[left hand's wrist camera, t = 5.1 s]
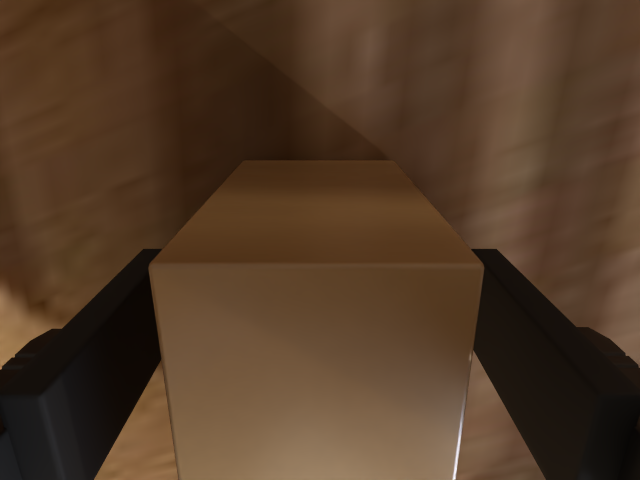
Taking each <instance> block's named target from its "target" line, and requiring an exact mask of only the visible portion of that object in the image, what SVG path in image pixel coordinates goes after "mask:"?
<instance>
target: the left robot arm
mask: <svg viewBox="0 0 640 480" xmlns="http://www.w3.org/2000/svg"><path fill="white" fill-rule="evenodd" d="M161 250H162V249H143V250H142V251H141V252H140V253H139V254H138V255H137V256H136V257H135V258H134V259H133V260H132V261H131V262H130V263H129V264H128V265H127V266H126V267H125V268H124V269H123V270H122V271H121V272H120V273H119V274H117V275H116V276H115V277H114V278H113V279H112V280H111V281H110V282H109V283H108V284H107V285H106V286H105V287H104V288H103V289H102V290H101V291H100V292H99V293H98V294H97V295H96V296H95V297H94V298H93V299H92V300H91V301H90V302H89V303H88V304H87V305H86V306H85V307H84V308H83V309H82V310H81V311H80V312H79V313H78V314H77V315H76V316H75V317H74V318H73V319H72V320H71V321H70V322H69V323H67V324H66V325H65V326H64V327H63V328H62V329H51V330H49V331H47V332H45V333H44V334H42V335H40V336H38V337H36V338H35V339H33V340H31V341H30V342H29V343H27V344H26V345H25V346H24V347H23V348H22V349H21V350H20V351H19V352H18V353H16V354H15V358H11V359H10V360H9V361H8V362H7V363H6V364H4V365H3V366H2V370H0V480H94V478H95V477H96V475H97V473H98V471H99V470H100V468H101V466H102V464H103V462H104V461H105V459H106V457H107V455H108V453H109V452H110V450H111V448H112V446H113V445H114V443H115V441H116V439H117V437H118V436H119V434H120V432H121V430H122V428H123V427H124V425H125V423H126V421H127V420H128V418H129V416H130V414H131V412H132V411H133V409H134V407H135V405H136V403H137V402H138V400H139V398H140V396H141V395H142V393H143V391H144V389H145V387H146V386H147V384H148V382H149V380H150V379H151V377H152V375H153V373H154V371H155V370H156V368H157V366H158V364H159V362H160V361H161V352H160V345H159V338H158V331H157V324H156V317H155V310H154V303H153V296H152V289H151V282H150V275H149V264H150V263H151V261H152V260H153V259H154V258H155V257H156V256H157V255H158V254H159V253H160V252H161ZM471 250H472V251H473V252H474V254H475V255H476V256H477V257H478V258H479V259H480V260H481V262H482V263H483V265H484V274H483V282H482V289H481V296H480V304H479V311H478V318H477V326H476V333H475V340H474V348H473V350H474V352H475V354H476V355H477V357H478V359H479V361H480V362H481V364H482V366H483V368H484V370H485V371H486V373H487V375H488V377H489V378H490V380H491V382H492V384H493V386H494V387H495V389H496V391H497V393H498V395H499V396H500V398H501V400H502V402H503V403H504V405H505V407H506V409H507V411H508V412H509V414H510V416H511V418H512V420H513V421H514V423H515V425H516V427H517V428H518V430H519V432H520V434H521V436H522V437H523V439H524V441H525V443H526V445H527V446H528V448H529V450H530V452H531V453H532V455H533V457H534V459H535V461H536V462H537V464H538V466H539V468H540V469H541V471H542V473H543V475H544V477H545V478H546V480H640V368H639V367H638V364H637V363H636V362H635V361H633V360H632V359H631V358H630V357H629V356H626V355H625V352H624V351H622V350H621V349H620V348H619V347H618V346H617V345H616V344H615V343H614V342H613V341H611V340H610V339H609V338H607V337H605V336H603V335H601V334H600V333H598V332H596V331H594V330H592V329H590V328H589V327H576V326H575V325H574V324H573V323H572V322H570V321H569V320H568V319H567V318H566V317H565V316H564V315H563V314H562V313H561V312H560V311H559V310H558V309H557V308H556V307H555V306H554V305H553V304H552V303H551V302H550V301H549V300H548V299H547V298H546V297H545V296H544V295H543V294H542V293H541V292H540V291H539V290H538V289H537V288H536V287H535V286H534V285H533V284H532V283H531V282H530V281H529V280H528V279H527V278H526V277H525V276H524V275H523V274H521V273H520V272H519V271H518V270H517V269H516V268H515V267H514V266H513V265H512V264H511V263H510V262H509V261H508V260H507V259H506V258H505V257H504V256H503V255H502V254H501V253H500V252H499V251H498V250H497V249H471Z"/></svg>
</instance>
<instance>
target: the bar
mask: <svg viewBox="0 0 640 480" xmlns="http://www.w3.org/2000/svg"><path fill="white" fill-rule="evenodd" d="M483 274H484V265H483V263H482V262H481V260H480V259H479V258H478V257H477V256H476V255H475V254H474V252H473V251H472V250H471V249H470V248H469V247H468V245H467V244H466V243H465V242H464V241H463V240H462V239H461V237H460V236H459V235H458V234H457V233H456V232H455V231H454V229H453V228H452V227H451V226H450V225H449V224H448V223H447V221H446V220H445V219H444V218H443V217H442V216H441V214H440V213H439V212H438V211H437V210H436V209H435V208H434V206H433V205H432V204H431V203H430V202H429V201H428V200H427V198H426V197H425V196H424V195H423V194H422V193H421V191H420V190H419V189H418V188H417V187H416V186H415V185H414V183H413V182H412V181H411V180H410V179H409V178H408V177H407V175H406V174H405V173H404V172H403V171H402V170H401V168H400V167H399V166H398V165H397V164H396V163H395V162H394V161H393V160H244V161H242V162H241V164H240V165H239V166H238V167H237V168H236V169H235V170H234V171H233V172H232V173H231V175H230V176H229V177H228V178H227V179H226V180H225V181H224V182H223V183H222V184H221V186H220V187H219V188H218V189H217V190H216V191H215V192H214V193H213V194H212V195H211V197H210V198H209V199H208V200H207V201H206V202H205V203H204V204H203V205H202V206H201V208H200V209H199V210H198V211H197V212H196V213H195V214H194V215H193V216H192V217H191V219H190V220H189V221H188V222H187V223H186V224H185V225H184V226H183V227H182V228H181V230H180V231H179V232H178V233H177V234H176V235H175V236H174V237H173V238H172V239H171V241H170V242H169V243H168V244H167V245H166V246H165V247H164V248H163V249H162V250H161V252H160V253H159V254H158V255H157V256H156V257H155V258H154V259H153V260H152V261H151V263H150V264H149V275H150V282H151V289H152V296H153V303H154V310H155V317H156V324H157V331H158V338H159V345H160V352H161V359H162V366H163V373H164V380H165V388H166V395H167V402H168V409H169V416H170V423H171V430H172V437H173V444H174V451H175V458H176V465H177V472H178V479H179V480H456V472H457V465H458V458H459V450H460V443H461V436H462V428H463V421H464V414H465V406H466V399H467V392H468V384H469V377H470V370H471V362H472V355H473V348H474V340H475V333H476V326H477V318H478V311H479V304H480V296H481V289H482V282H483Z"/></svg>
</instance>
